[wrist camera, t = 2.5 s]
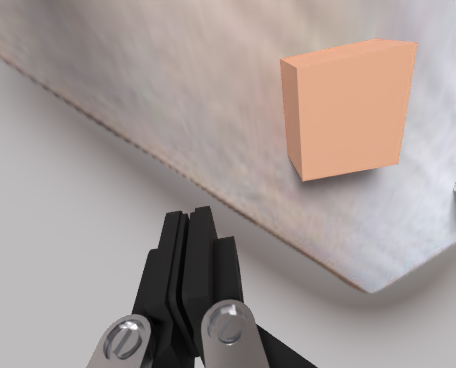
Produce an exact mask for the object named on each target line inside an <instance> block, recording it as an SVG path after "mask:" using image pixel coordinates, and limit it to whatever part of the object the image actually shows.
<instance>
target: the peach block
mask: <svg viewBox="0 0 456 368" xmlns="http://www.w3.org/2000/svg"><path fill="white" fill-rule="evenodd" d="M417 44H418V43H417V42H406V41H395V40H384V39H371V40H367V41H362V42H357V43H352V44H348V45H343V46H338V47H334V48H329V49H324V50H320V51H315V52H310V53H305V54H301V55H296V56H291V57H287V58H282V59H280V65H281V77H282V89H283V102H284V114H285V126H286V139H287V151H288V156H289V157H290V159H291V161H292V163H293V165H294V166H295V168H296V170H297V172H298V174H299V176H300V177H301V179H302V181H307V180H313V179H318V178H324V177H329V176H335V175H340V174H346V173H351V172H357V171H362V170H368V169H373V168H379V167H384V166H390V165H395V164H398V162H399V156H400V150H401V144H402V137H403V131H404V125H405V119H406V113H407V106H408V100H409V94H410V88H411V82H412V75H413V69H414V63H415V57H416V51H417Z"/></svg>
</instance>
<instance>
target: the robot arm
mask: <svg viewBox="0 0 456 368" xmlns="http://www.w3.org/2000/svg"><path fill="white" fill-rule="evenodd" d="M199 356H200V357H201V360H202V362H203V364H204V367H205V368H317V367H316V366H315V365H313V364H312V363H310V362H309V361H308V360H306V359H305V358H303V357H302V356H301V355H299V354H298V353H296V352H295V351H293V350H292V349H291V348H289V347H288V346H286V345H285V344H284V343H282V342H281V341H280V340H278V339H277V338H275V337H273V336H272V335H271V334H270V333H268V332H267V331H265V330H264V329H263V328H261V327H260V326H258V325H257V324H256V323H255V320H254V317H253V314H252V312H251V310H250V309H249V308H248V307H247V306H246V305H245V304H244V301H243V292H242V284H241V276H240V268H239V261H238V255H237V250H236V244H235V240H234V236H232V237H226V238H220V239H218V237H217V233H216V229H215V225H214V221H213V217H212V212H211V209H210V206H205V207H199V208H195V212H192V213H190V220H189V217H188V214H187V213H186V214H183V213H182V211H175V212H170V213H166V216H165V220H164V225H163V229H162V233H161V237H160V241H159V245H158V249H152V250H150V251H149V254H148V257H147V260H146V264H145V268H144V271H143V274H142V278H141V282H140V285H139V289H138V292H137V296H136V300H135V304H134V307H133V310H132V314H131V315H127V316H125V317H122V318H120V319H118V320H117V321H116V322H114V323H113V324H112V325H111V326H110V327H109V328H108V329H107V330H106V331H105V333H104V334H103V336H102V337H101V339H100V341H99V343H98V345H97V347H96V349H95V351H94V353H93V355H92V357H91V360H90V361H89V364H88V366H87V367H86V368H194V363H195V357H199Z"/></svg>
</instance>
